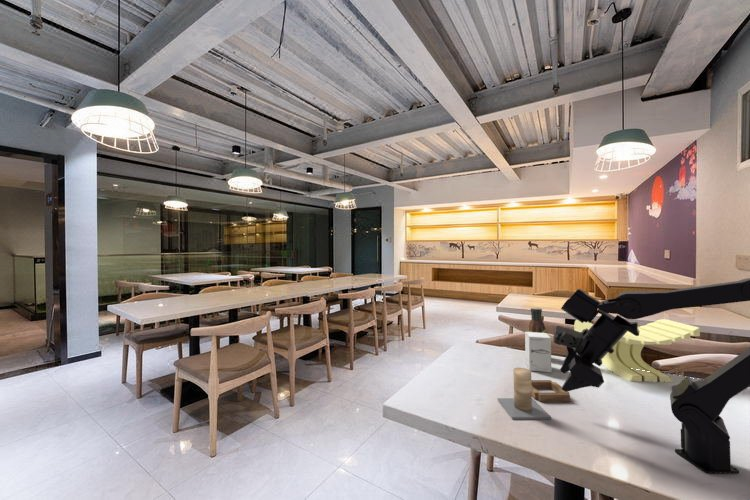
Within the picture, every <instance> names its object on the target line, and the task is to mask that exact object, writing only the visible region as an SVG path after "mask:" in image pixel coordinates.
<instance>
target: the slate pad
mask: <svg viewBox="0 0 750 500" xmlns="http://www.w3.org/2000/svg"><path fill="white" fill-rule="evenodd" d="M497 402H498V403H499V404H500V405H501V407H502V408H503V409H504V410H505V412H506V414H508V415H509V417H510V418H511V419H512V420H552V416H551V415H550V414H549V413H548V412H547V411H546V410H545V409H544V407H542V406H541V405H540V404H539V403H538V402H537V401H536V399H534V398H532V410H531V411H521V410H518V409H517V408H515V406H514V397H511V398H510V397H509V398H507V397H506V398H503V397H501V398H500V397H499V398H498V397H497Z"/></svg>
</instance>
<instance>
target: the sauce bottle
mask: <svg viewBox="0 0 750 500" xmlns="http://www.w3.org/2000/svg"><path fill="white" fill-rule="evenodd" d="M530 312H531V317H530V318H531V320H530V321H529V323H528V332H537V333H546V334H547V331H546V330H547V329H546V326H545V323H544V321H543V316H542V312H543V309H542V308H540V307H531V308H530Z"/></svg>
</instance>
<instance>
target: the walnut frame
mask: <svg viewBox="0 0 750 500" xmlns="http://www.w3.org/2000/svg"><path fill="white" fill-rule="evenodd" d="M531 385H532V399H534V400H537V401H538V402H539V403H553V402H554V403H570V402H571V394H570V391H568V392H565V391H563V390H562V386H561V385H560V384H558V383H557V382H555V381H552V380H551V379H542V380H541V379H537V380H536V379H533V380H532V379H531ZM538 389H550V390H552V391H553V392H551V391H550V392H549V391H548V392H540V391H538Z"/></svg>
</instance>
